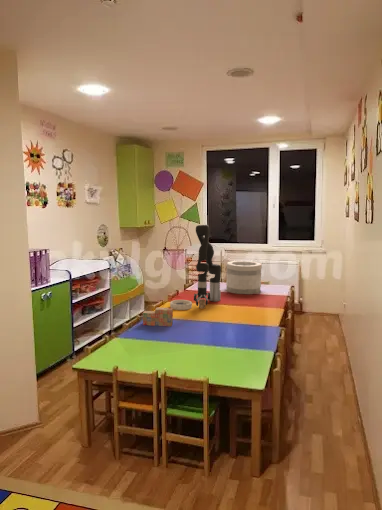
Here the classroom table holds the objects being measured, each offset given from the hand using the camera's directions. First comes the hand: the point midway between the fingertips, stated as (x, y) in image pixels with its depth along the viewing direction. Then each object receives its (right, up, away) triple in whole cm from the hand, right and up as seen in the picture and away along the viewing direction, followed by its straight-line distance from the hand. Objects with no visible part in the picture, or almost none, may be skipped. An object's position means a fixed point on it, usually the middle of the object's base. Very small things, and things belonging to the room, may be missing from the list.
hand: (201, 305), depth 356 cm
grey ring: (-18, -2, +2) cm, 18 cm away
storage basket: (+44, +7, +69) cm, 82 cm away
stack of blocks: (-34, -9, -47) cm, 58 cm away
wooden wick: (0, -2, 0) cm, 2 cm away
